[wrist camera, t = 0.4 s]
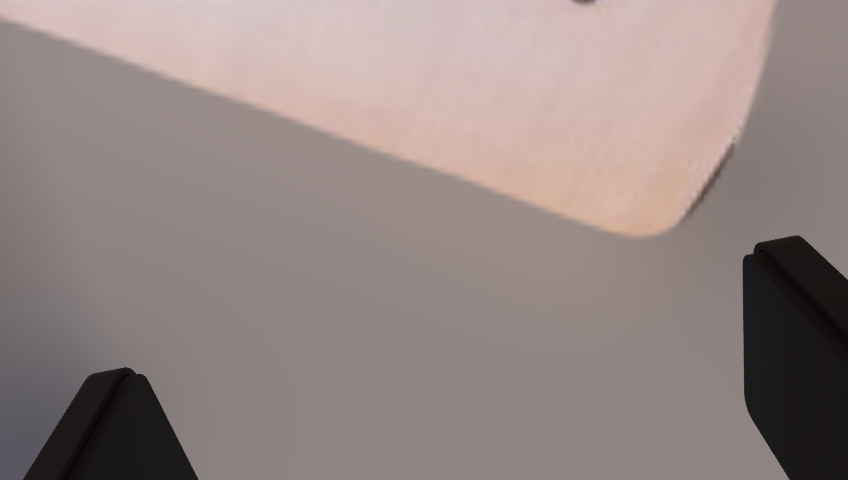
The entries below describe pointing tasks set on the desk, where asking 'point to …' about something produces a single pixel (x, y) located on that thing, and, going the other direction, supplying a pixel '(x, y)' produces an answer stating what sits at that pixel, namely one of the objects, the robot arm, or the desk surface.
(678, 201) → the desk surface
